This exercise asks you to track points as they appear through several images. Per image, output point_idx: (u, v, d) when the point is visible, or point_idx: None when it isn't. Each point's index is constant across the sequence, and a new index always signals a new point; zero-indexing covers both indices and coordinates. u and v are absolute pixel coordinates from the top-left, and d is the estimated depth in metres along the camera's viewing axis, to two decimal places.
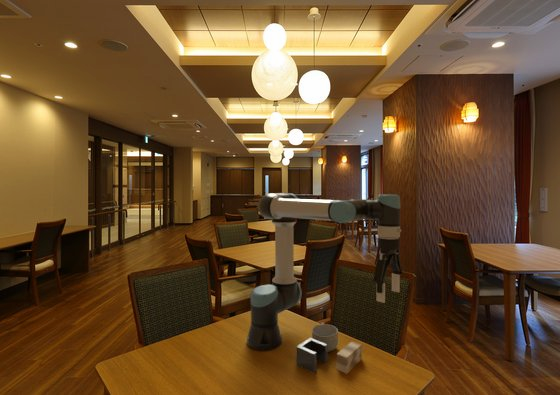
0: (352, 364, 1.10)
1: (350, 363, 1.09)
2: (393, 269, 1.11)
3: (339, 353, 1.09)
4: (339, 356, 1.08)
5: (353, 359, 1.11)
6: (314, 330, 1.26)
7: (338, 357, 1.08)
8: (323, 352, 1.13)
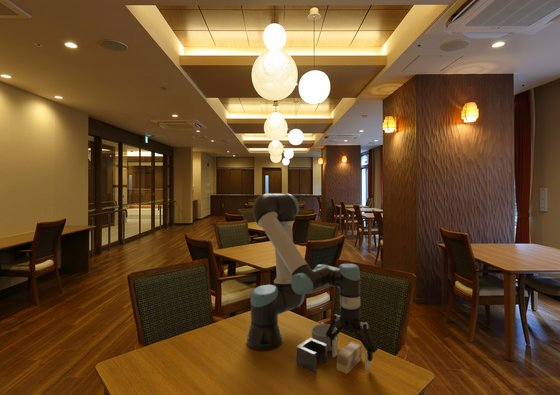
0: (352, 364, 1.10)
1: (350, 363, 1.08)
2: None
3: (339, 353, 1.09)
4: (339, 356, 1.08)
5: (353, 359, 1.11)
6: (314, 330, 1.27)
7: (338, 357, 1.08)
8: (323, 352, 1.13)
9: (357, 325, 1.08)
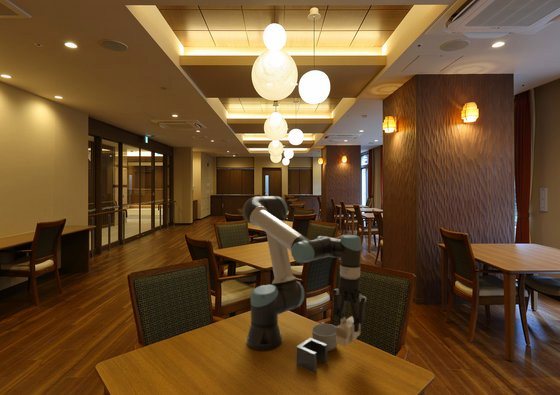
0: (351, 337, 1.10)
1: (349, 336, 1.09)
2: None
3: (338, 326, 1.09)
4: (338, 329, 1.08)
5: None
6: (314, 330, 1.27)
7: (337, 330, 1.09)
8: (323, 352, 1.13)
9: (356, 295, 1.09)
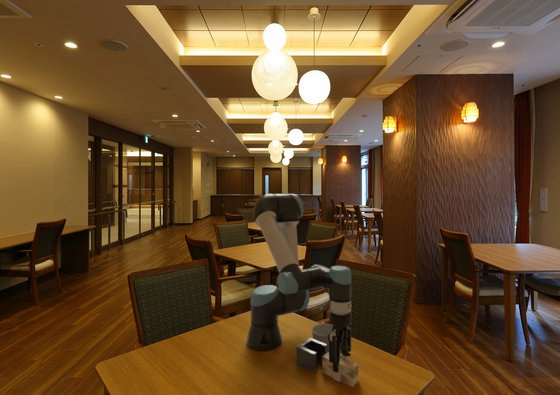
0: None
1: None
2: (342, 348, 1.06)
3: (351, 367, 1.00)
4: (354, 370, 1.00)
5: None
6: (314, 330, 1.27)
7: (353, 371, 1.00)
8: (323, 352, 1.13)
9: (347, 326, 1.06)
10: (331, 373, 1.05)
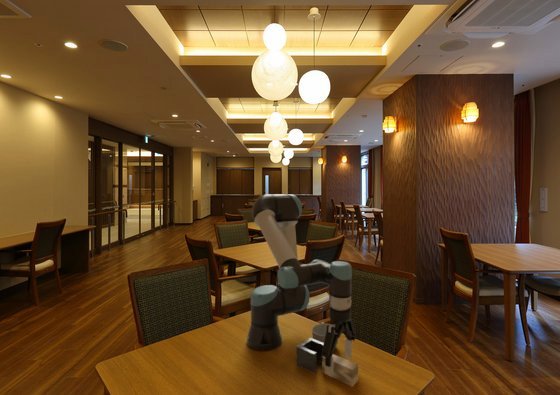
0: None
1: None
2: (346, 335, 1.10)
3: (351, 367, 1.00)
4: (354, 370, 1.00)
5: None
6: (314, 330, 1.27)
7: (353, 372, 1.00)
8: None
9: (347, 320, 1.06)
10: None
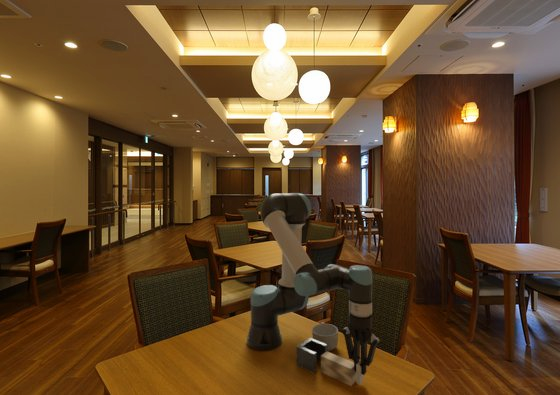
0: None
1: None
2: None
3: (349, 367, 1.01)
4: (352, 369, 1.00)
5: None
6: (314, 329, 1.27)
7: (352, 371, 1.00)
8: (323, 352, 1.13)
9: (367, 335, 0.97)
10: (329, 372, 1.05)
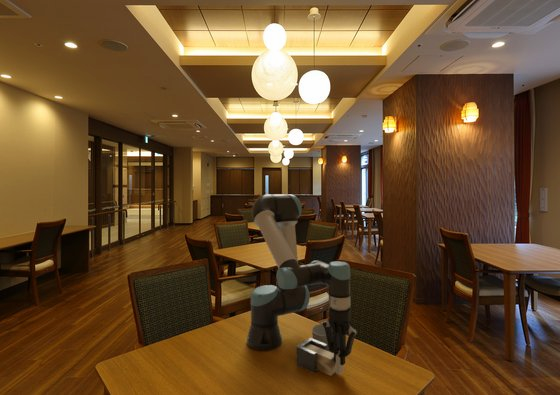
0: None
1: None
2: None
3: (329, 357, 1.06)
4: (332, 360, 1.06)
5: None
6: (314, 330, 1.27)
7: (332, 361, 1.05)
8: None
9: (346, 327, 1.02)
10: None
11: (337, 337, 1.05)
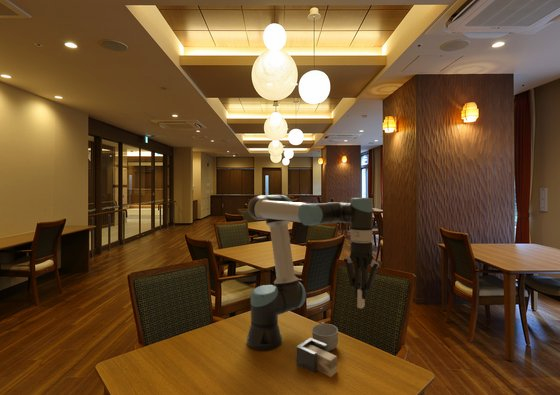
0: None
1: None
2: None
3: (329, 359, 1.05)
4: (332, 361, 1.05)
5: None
6: (314, 330, 1.27)
7: (331, 363, 1.05)
8: None
9: (368, 260, 1.02)
10: None
11: (359, 272, 1.05)
